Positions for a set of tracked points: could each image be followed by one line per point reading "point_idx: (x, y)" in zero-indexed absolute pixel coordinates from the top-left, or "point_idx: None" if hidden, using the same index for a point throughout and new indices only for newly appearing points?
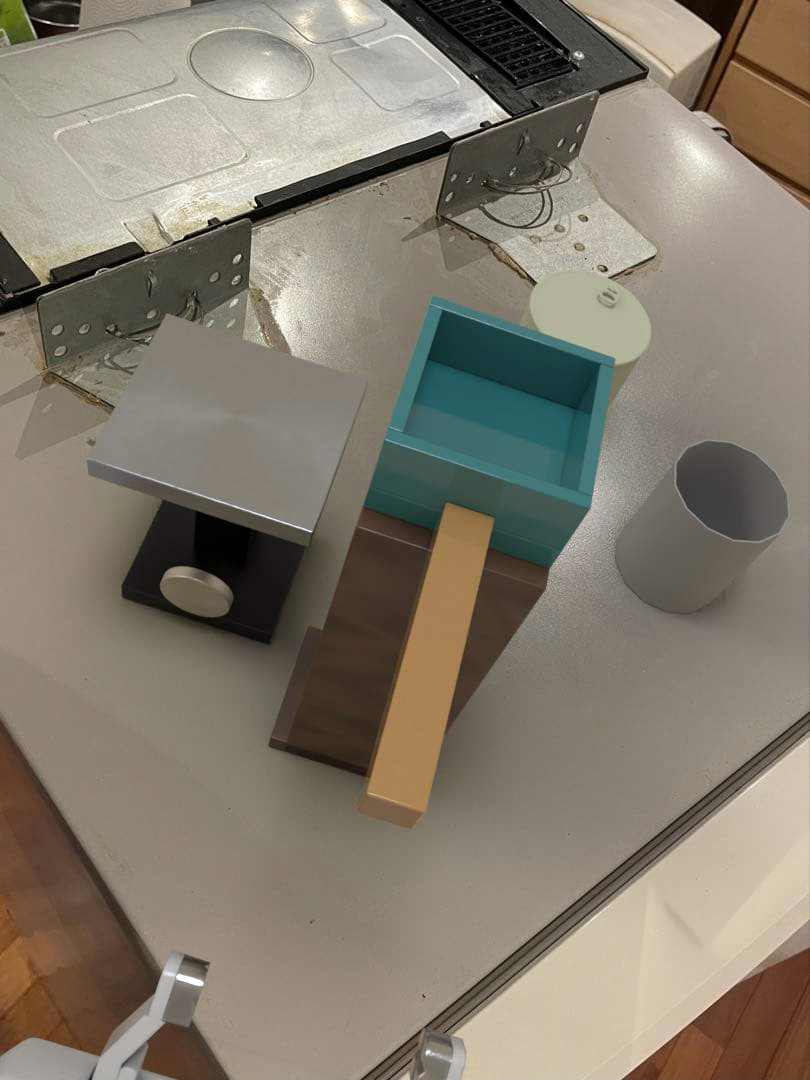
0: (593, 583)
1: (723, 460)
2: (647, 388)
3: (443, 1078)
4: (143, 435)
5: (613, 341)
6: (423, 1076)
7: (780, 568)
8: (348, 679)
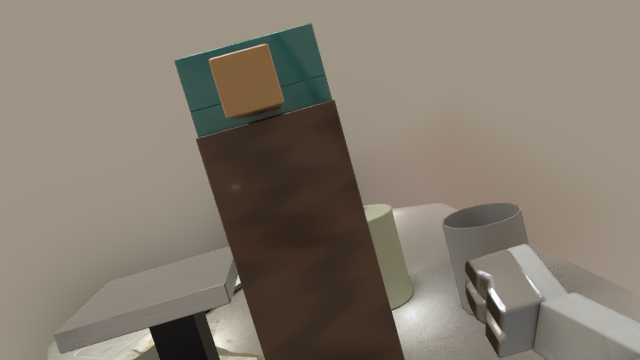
0: (467, 328)
1: (469, 222)
2: (425, 263)
3: (519, 272)
4: (95, 311)
5: (373, 214)
6: (492, 283)
7: (559, 268)
8: (297, 348)
